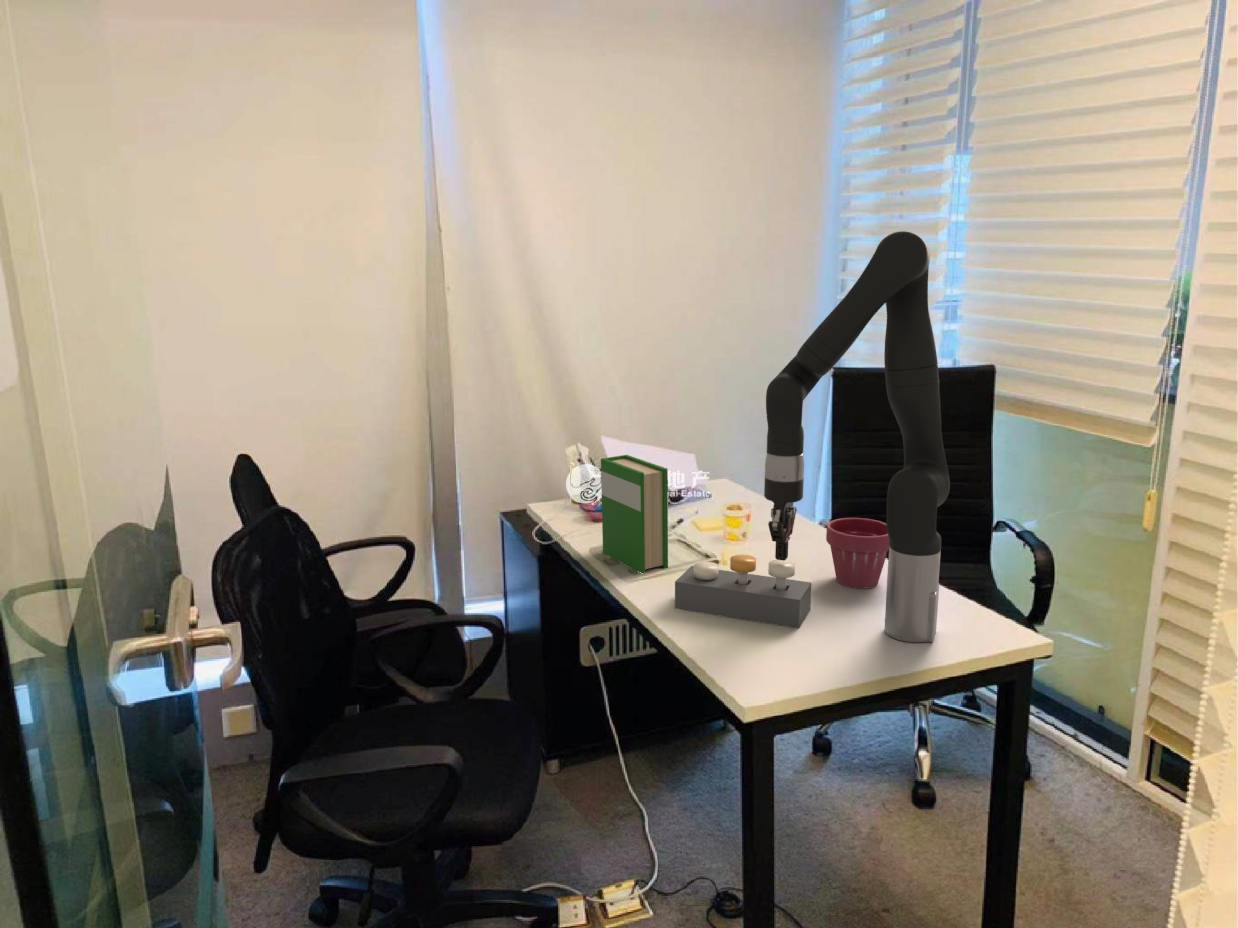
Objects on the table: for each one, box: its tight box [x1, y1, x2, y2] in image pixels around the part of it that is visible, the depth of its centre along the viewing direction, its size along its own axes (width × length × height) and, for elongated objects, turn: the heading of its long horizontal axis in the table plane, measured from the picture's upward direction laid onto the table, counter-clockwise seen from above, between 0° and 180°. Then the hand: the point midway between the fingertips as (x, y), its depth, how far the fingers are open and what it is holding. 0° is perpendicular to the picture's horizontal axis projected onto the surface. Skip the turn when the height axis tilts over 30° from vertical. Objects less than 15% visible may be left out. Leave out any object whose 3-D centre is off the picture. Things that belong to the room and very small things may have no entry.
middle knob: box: [729, 554, 757, 585], centre depth 180 cm, size 5×5×7 cm
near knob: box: [768, 559, 796, 591], centre depth 177 cm, size 5×5×7 cm
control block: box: [674, 565, 812, 629], centre depth 181 cm, size 26×10×6 cm, turn 65°
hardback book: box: [600, 454, 669, 574], centre depth 209 cm, size 18×7×24 cm, turn 31°
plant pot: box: [825, 517, 889, 589], centre depth 194 cm, size 14×14×13 cm
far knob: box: [692, 561, 719, 580], centre depth 184 cm, size 5×5×7 cm
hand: (781, 558), depth 176 cm, fingers closed
